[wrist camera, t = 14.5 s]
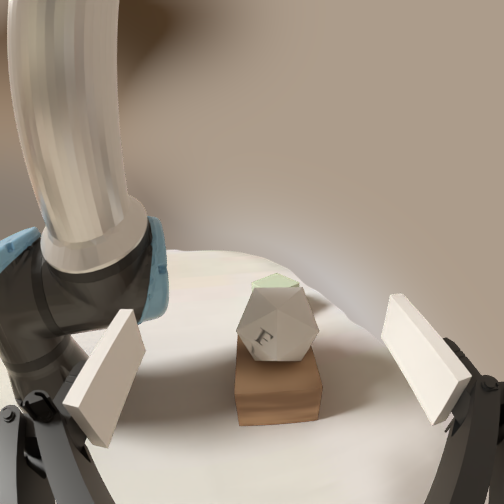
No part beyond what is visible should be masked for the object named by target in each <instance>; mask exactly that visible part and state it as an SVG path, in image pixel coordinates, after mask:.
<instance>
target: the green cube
mask: <svg viewBox="0 0 504 504" xmlns="http://www.w3.org/2000/svg"><path fill="white" fill-rule="evenodd" d="M270 287H299V282H297V281H294V280H292V279H290V278H287V277H285V276H283V275H280V274H278V273H275V274H273V275H270V276H267V277H265V278H262V279H259V280H257V281H254V282H252V292H253V289H254V288H270Z"/></svg>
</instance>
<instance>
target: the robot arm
mask: <svg viewBox="0 0 504 504" xmlns="http://www.w3.org/2000/svg"><path fill="white" fill-rule="evenodd" d="M118 8H119V0H9V4H8V23H7V25H8V26H7V47H8V67H9V78H10V88H11V95H12V103H13V109H14V114H15V119H16V125H17V130H18V135H19V140H20V144H21V148H22V152H23V156H24V160H25V164H26V167H27V171H28V174H29V177H30V181H31V184H32V187H33V190H34V193H35V196H36V199H37V202H38V205H39V208H40V210H41V213H42V216H43V218H44V221H45V223H46V226H45V228H44V230H43V233H42V236H41V233H40V232H39V230H38V229H37V228H36V227H32V228H28V229H25V230H22V231H20V232H18V233H16V234H13V235H11V236H9V237H7V238H5V239H3V240H1V241H0V357H1V359H2V361H3V363H4V365H5V366H6V368H7V371H8V375H9V379H10V382H11V386H12V389H13V393H14V396H15V399H16V402H17V404H18V406H19V407H20V409H21V410H22V412H23V413H21V411H20V410H19V409H18V407H16V406H15V405H8V406H6V407H4V408H3V409H2V410H1V411H0V504H55V500H56V503H57V504H115V502H114V500H113V499H112V497H111V495H110V493H109V491H108V490H107V488H106V486H105V484H104V482H103V480H102V478H101V476H100V474H99V472H98V470H97V468H96V466H95V464H94V461H93V459H92V457H91V455H90V452H89V450H88V448H87V446H86V445H85V440H86V438H88V439H89V441H90V442H91V443H92V444H93V445H96V446H100V447H104V448H108V447H109V444H110V442H111V439H112V436H113V433H114V430H115V428H116V425H117V422H118V419H119V417H120V414H121V411H122V409H123V406H124V404H125V401H126V398H127V396H128V393H129V391H130V388H131V386H132V383H133V381H134V378H135V376H136V373H137V371H138V368H139V366H140V364H141V361H142V359H143V356H144V354H145V352H146V350H145V347H144V344H143V341H142V338H141V334H140V331H139V328H138V325H139V324H141V323H142V322H145V321H149V320H153V319H156V318H159V317H161V316H162V315H163V314H164V313H165V312H166V310H167V307H168V301H169V281H168V271H167V268H166V267H167V255H166V246H165V239H164V233H163V229H162V224H161V222H160V220H159V219H158V218H155V217H150V216H147V213H146V210H145V208H144V206H143V205H142V203H141V202H140V201H139V200H137V199H136V198H134V197H132V196H130V195H128V189H127V183H126V176H125V169H124V161H123V152H122V143H121V134H120V123H119V108H118V90H117V24H118ZM40 237H41V238H40ZM102 329H107V330H106V331H105V333H104V334H103V336H102V337H101V339H100V341H99V342H98V344H97V345H96V347H95V348H94V350H93V352H92V353H91V355H90V357H89V356H88V355H87V354H86V353H85V352H84V350H83V349H82V348H81V347H80V346H79V345H78V344H77V343H76V341H75V340H74V339H73V338H72V337H71V335H70V334H76V333H82V332H89V331H95V330H102ZM381 338H382V340H383V341H384V343H385V344H386V346H387V348H388V349H389V351H390V353H391V354H392V356H393V358H394V359H395V361H396V363H397V364H398V366H399V368H400V369H401V371H402V373H403V374H404V376H405V378H406V380H407V381H408V383H409V385H410V386H411V388H412V390H413V392H414V394H415V395H416V397H417V399H418V401H419V403H420V404H421V406H422V408H423V410H424V412H425V414H426V415H427V417H428V419H429V421H430V423H431V425H432V426H433V425H436V424H438V423H441V422H443V421H445V420H446V419H447V418H448V416H449V414H450V413H451V412H452V413H453V415H454V418H453V419H452V421H451V422H450V424H449V425H448V427H447V428H446V430H445V432H447V431H448V430H449V428H450V430H449V434H448V438H447V441H446V445H445V448H444V452H443V455H442V458H441V461H440V464H439V467H438V470H437V473H436V476H435V479H434V481H433V484H432V487H431V489H430V492H429V494H428V496H427V499H426V501H425V503H424V504H484V503H485V500H486V496H487V492H488V488H489V504H504V382H498V381H497V380H496V379H495V378H494V377H492V376H489V375H483V376H482V375H480V373H479V372H478V370H477V369H476V368H475V367H474V365H473V364H472V363H471V362H470V361H469V359H468V358H467V357H465V354H464V353H463V352H462V351H460V348H459V347H458V346H457V345H456V344H455V343H454V342H453V341H451V340H449V339H448V338H441V337H440V335H439V334H438V333H437V332H436V331H435V329H434V328H433V327H432V326H431V325H430V324H429V322H428V321H427V320H426V319H425V318H424V317H423V316H422V315H421V313H420V312H419V311H418V310H417V309H416V308H415V307H414V306H413V304H412V303H411V302H410V301H409V300H408V299H407V298H406V297H405V296H404V295H403V294H402V293H401V294H393V295H390V298H389V303H388V308H387V313H386V318H385V322H384V327H383V331H382V335H381Z"/></svg>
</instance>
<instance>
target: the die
mask: <svg viewBox="0 0 504 504" xmlns="http://www.w3.org/2000/svg"><path fill="white" fill-rule="evenodd" d="M236 332H237V333H238V335H239V337H240V338H241V340H242V341H243V343H244V344H245V346H246V348H247V349H248V351H249V352H250V354H251V355H252V357H253V358H254V360H255V361H302V359H303V357H304V356H305V354H306V352H307V351H308V349H309V348H310V346H311V344H312V343H313V341H314V339H315V338H316V336H317V334H318V333H319V329H318V326H317V323H316V321H315V318H314V315H313V313H312V310H311V308H310V305H309V302H308V300H307V297H306V295H305V292H304V289H303V287H270V288H254V289H253V292H252V294H251V296H250V299H249V301H248V304H247V306H246V308H245V311H244V313H243V315H242V318H241V320H240V323H239V325H238V327H237V330H236Z"/></svg>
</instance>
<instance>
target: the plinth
mask: <svg viewBox="0 0 504 504" xmlns="http://www.w3.org/2000/svg"><path fill="white" fill-rule="evenodd" d="M238 325H239V324H238ZM322 390H323V386H322V382H321V379H320V375H319V372H318V368H317V365H316V361H315V357H314V354H313V350H312V347H311V346H310V348H309V349H308V351H307V352H306V354H305V356H304V357H303V359H302V361H255V360H254V358H253V357H252V355H251V354H250V352H249V351H248V349H247V348H246V346H245V344H244V343H243V341H242V340H241V338H240V337H239V335H238V339H237V356H236V373H235V390H234V395H235V402H236V408H237V414H238V421H239V426H253V425H273V424H286V423H297V422H306V421H315V420H317V419H318V414H319V408H320V402H321V396H322Z"/></svg>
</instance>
